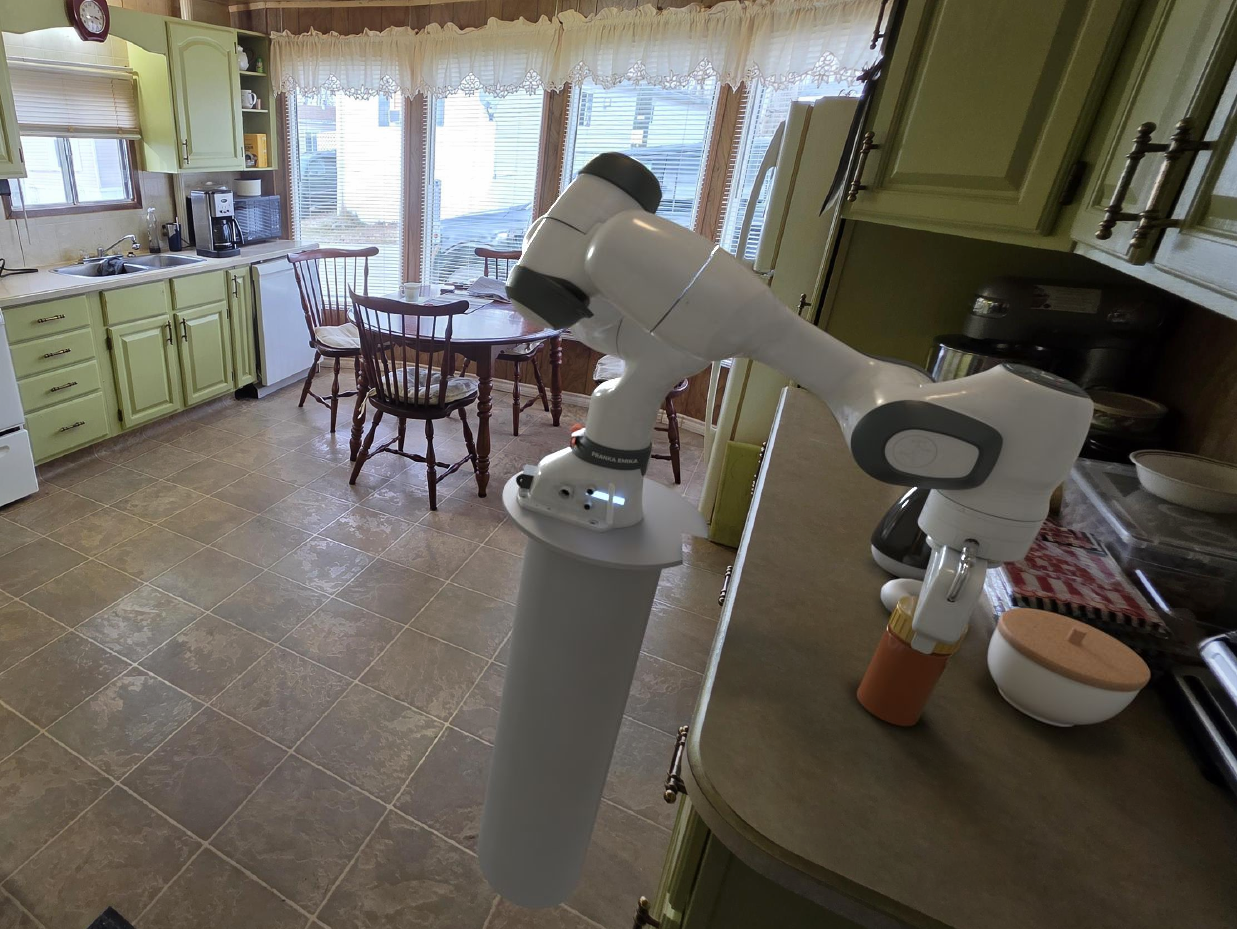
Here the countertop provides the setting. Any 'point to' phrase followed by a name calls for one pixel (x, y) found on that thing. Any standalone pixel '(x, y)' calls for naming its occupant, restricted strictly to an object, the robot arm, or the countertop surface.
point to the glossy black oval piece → (903, 537)
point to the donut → (899, 591)
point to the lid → (903, 624)
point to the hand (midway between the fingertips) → (924, 631)
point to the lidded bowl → (1062, 668)
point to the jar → (900, 680)
